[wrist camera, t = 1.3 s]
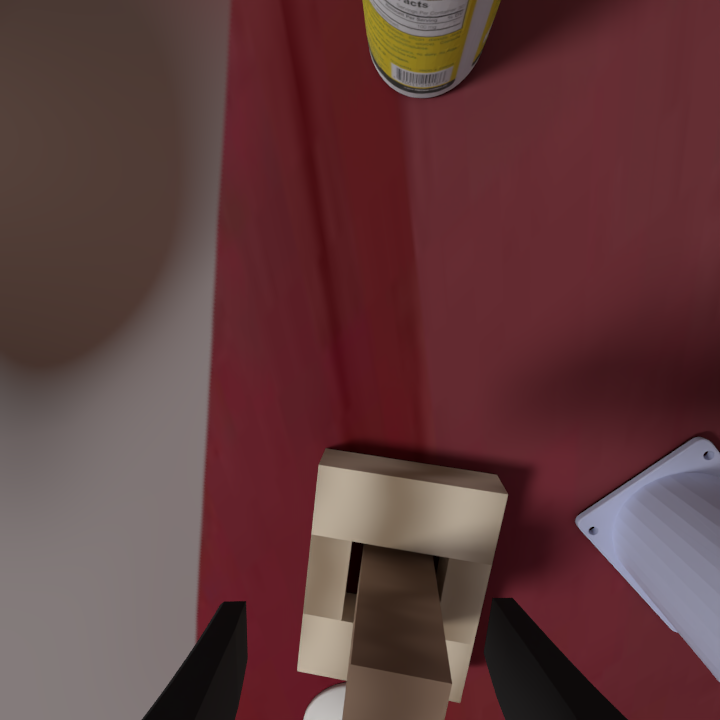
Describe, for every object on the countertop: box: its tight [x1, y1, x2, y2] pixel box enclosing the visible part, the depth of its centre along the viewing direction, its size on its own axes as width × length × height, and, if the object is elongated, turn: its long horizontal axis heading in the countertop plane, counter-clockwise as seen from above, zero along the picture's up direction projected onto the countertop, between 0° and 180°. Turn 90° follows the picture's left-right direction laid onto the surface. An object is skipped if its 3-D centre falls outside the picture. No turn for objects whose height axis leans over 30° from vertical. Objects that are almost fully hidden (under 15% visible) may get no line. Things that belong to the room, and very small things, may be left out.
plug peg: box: [342, 544, 452, 720], centre depth 18 cm, size 4×4×8 cm
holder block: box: [297, 448, 508, 703], centre depth 21 cm, size 10×14×2 cm
